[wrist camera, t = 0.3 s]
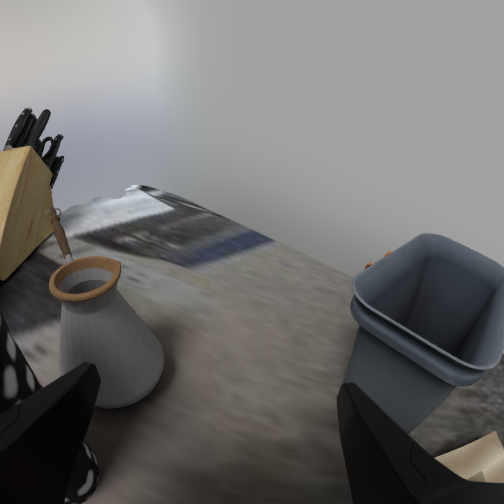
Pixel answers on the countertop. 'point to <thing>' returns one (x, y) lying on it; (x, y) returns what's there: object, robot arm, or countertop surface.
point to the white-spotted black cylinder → (23, 386)
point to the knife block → (26, 189)
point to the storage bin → (425, 325)
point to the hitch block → (477, 460)
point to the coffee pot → (103, 327)
